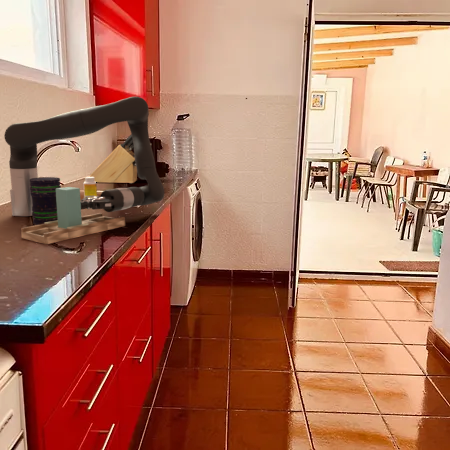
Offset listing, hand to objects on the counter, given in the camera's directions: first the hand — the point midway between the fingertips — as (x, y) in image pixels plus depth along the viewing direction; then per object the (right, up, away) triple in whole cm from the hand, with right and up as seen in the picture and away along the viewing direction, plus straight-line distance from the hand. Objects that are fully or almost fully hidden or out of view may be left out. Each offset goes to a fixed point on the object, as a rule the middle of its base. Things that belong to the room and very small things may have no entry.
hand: (75, 206), depth 144 cm
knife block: (-14, +19, +123) cm, 125 cm away
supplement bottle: (-13, +5, +60) cm, 62 cm away
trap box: (0, -8, +2) cm, 8 cm away
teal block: (-1, -6, -1) cm, 7 cm away
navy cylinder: (-15, -5, +15) cm, 22 cm away
